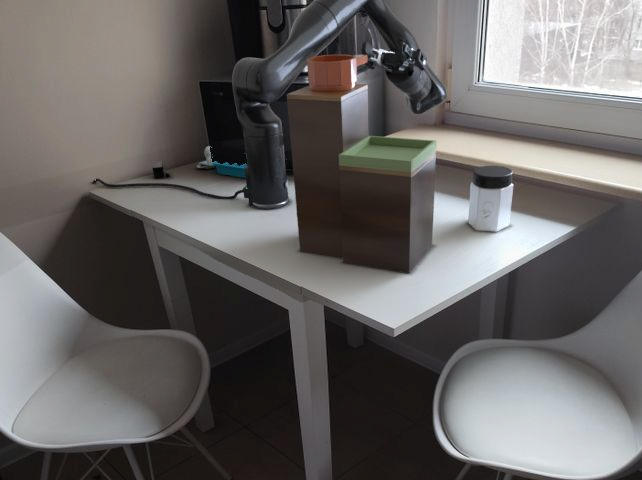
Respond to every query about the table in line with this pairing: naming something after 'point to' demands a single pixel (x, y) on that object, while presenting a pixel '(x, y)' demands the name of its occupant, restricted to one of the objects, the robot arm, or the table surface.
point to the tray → (388, 153)
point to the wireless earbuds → (159, 170)
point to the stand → (354, 187)
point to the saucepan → (333, 72)
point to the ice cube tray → (230, 169)
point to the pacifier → (208, 161)
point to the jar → (490, 198)
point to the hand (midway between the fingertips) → (382, 46)
